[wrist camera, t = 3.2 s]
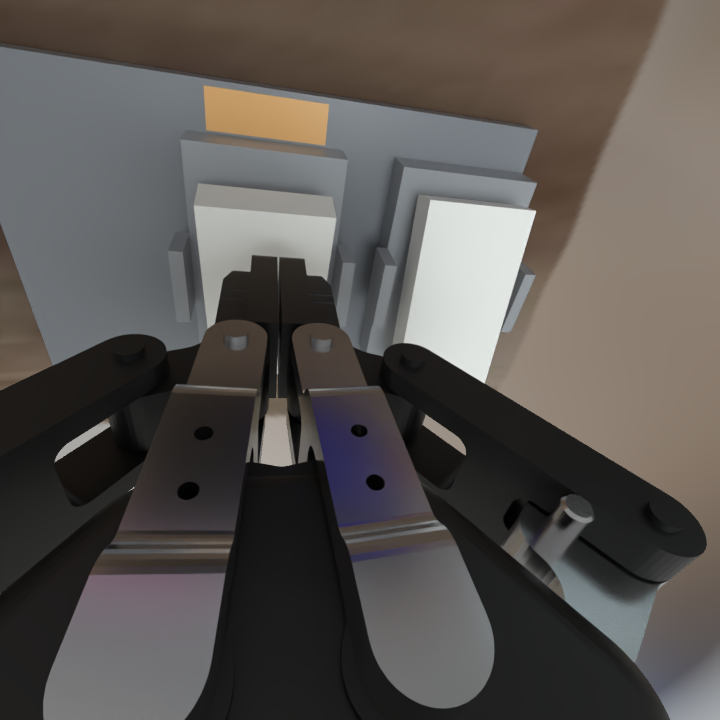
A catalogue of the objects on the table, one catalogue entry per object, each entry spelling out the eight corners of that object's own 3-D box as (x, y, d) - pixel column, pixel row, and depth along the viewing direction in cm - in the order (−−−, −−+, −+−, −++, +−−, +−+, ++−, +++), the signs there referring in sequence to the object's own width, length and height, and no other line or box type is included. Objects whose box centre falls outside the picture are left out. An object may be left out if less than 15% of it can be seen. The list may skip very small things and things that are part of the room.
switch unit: (60, 354, 22) (25, 414, 18) (-51, 34, 14) (-147, 41, 10) (450, 359, 26) (476, 407, 23) (535, 126, 19) (591, 150, 15)
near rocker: (215, 350, 20) (212, 373, 19) (198, 182, 14) (193, 205, 13) (310, 351, 21) (312, 373, 20) (332, 196, 15) (336, 218, 14)
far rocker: (387, 370, 20) (395, 386, 19) (418, 194, 17) (430, 199, 16) (471, 371, 21) (483, 385, 20) (517, 204, 18) (536, 210, 17)
